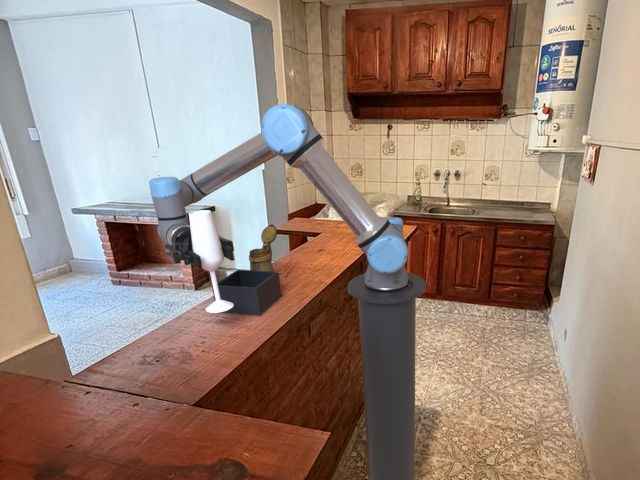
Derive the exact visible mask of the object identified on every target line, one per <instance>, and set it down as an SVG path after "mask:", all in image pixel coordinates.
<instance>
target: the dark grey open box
mask: <svg viewBox="0 0 640 480" xmlns="http://www.w3.org/2000/svg"><path fill="white" fill-rule="evenodd" d="M217 284H218V288H219V293H220V298H221V300H224V301H228V302H231V303H233V304H234V306H233V307H232V308H231V309H229V310H227V311H224V312H223V313H228V314H242V315H254V316H261V315H263V313H265V312H266V311H267V310H268V309H269V308H270V307H271V306H272V305H273V304H274V303H276V301H278V300H279V299H280V298H281V297H282V288H281V282H280V273H279V271H275V270H274V271H254V270H250V269H237V270H235V271H233V272H231V273H230V274H229V275H227V276H225V277H223V278H222V279H220V280H219V281H217ZM211 290H212V295H213V298H214V301H216V299H215V294H214V290H213V285H211Z"/></svg>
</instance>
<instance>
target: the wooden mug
mask: <svg viewBox="0 0 640 480" xmlns="http://www.w3.org/2000/svg"><path fill="white" fill-rule="evenodd" d="M277 236H278V229H277V227H276V226H275V224H273V223H271V224H269V225H267V226H266V227H265V228H264V229H263V230H262V231H261V237H260V238H261V242H262V243H263V244H262V247H261V248H253V249H251V250H249V254H248V261H249V270H254V271H275V269H274V266H273V263H272V259H273V250H272V246H271V244H273V242H274V241H275V240H276V238H277Z"/></svg>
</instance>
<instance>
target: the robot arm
mask: <svg viewBox="0 0 640 480" xmlns="http://www.w3.org/2000/svg"><path fill="white" fill-rule="evenodd" d="M324 142H325V139H324V137H323V136H322V135H321V134H320V133H319V131H318V130H317V128H316V127H315V125H314V121H313V120H312V117H311V115H310V114H309V113H308V112H307V111H306V110H304V109H302V107H299V106H295V105H292V104H289V103H279V104H277V105H274V106H272V107H270V108H269V109H268V110H267V111H266V112H265V113H264V115H263V117H262V120H261V124H260V133H258V134H256V135H254V136H253V137H251V138H249V139H248V140H246V141H244V142H242V143H241V144H239V145H238V146H236V147H234V148H232V149H231V150H229V151H227V152H226V153H224V154H223V155H221V156H219V157H217V158H215V159H213V160H212V161H211V162H209V163H207V164H205V165H204V166H202V167H200V168H199V169H197V170H195V171H193V172H191V173H190V174H188V175H187V176H185V177H183V178H181V179H179V178H178V177H177V176H161V177H160V176H159V177H154V178H151V179H150V180H149V181H148V185H149V190H150V192H149V193H150V196H151V199H152V203H153V206H154V211H155V215H156V218H157V224H158V227H157V233H158V235H159V236H158V237H159V238H160V240H162V242H164V243H165V244H164V250H165V254H166V256H169V257H170V258H171V259H172V260H173V262H174V264H180V263H181V261H183V264H184V266H189V265H191V264H192V265H193V266H195V267H196V268H198V269H203V268H202V264H201V259H200V256H199V255H197V254H196V253H194V252H193V246H192V238H191V229H190V222H189V220H188V219H189V218H188V215H187V210H186V208H187V207H188V206H191V205H192V204H196V203H198V202H200V201H202V200H203V199H204V198H206V197H207V196H209V195H211V194H212V193H214V192H215V191H218V190H220V189H221V188H223V187H225V186H226V185H228V184H230V183H232V182H233V181H235V180H237V179H239V178H240V177H242V176H244V175H246V174H248V173H249V172H251V171H252V170H255V169H256V168H258V167H260V166H261V165H263V164H265V163H266V162H268V161H270V160H272V159H274V158H275V157H280V158H282V159H283V160H284V161H285V162H286V163H287V164H288V165H289V167H290V168H293V169H298V170H300V171H301V173H303V175H304V176H305V177H306V178H307V179H308V181H309V182H310V183H311V185H313V186H314V188H315V189H316V191H318V192H319V193H320V195H321V196H322V197H323V199H324V200H325V201H326V202H327V203H328V204H329V206H330V207H331V208H332V209H333V211H334V212H335V213H336V214H337V215H338V217H340V219H341V220H342V221H343V222H344V223H345V225H346V226H347V227H348V228H349V229H350V231H352V233H353V234H354V235H355V245H356V246H357V247H358V248H359V249H360V250H361V251H362V253H363V254H364V255H365V256H366V259H367V263H368V265H367V269H366V271H365V272H364V274H365V280H364V284H365V287H366V288H368V289H369V290H372V291H376V292H395V291H399V290H402V289H404V288H406V287H407V286H408V285H409V283H410V284H411V285H412V284H413V282H412V281H410V280H409V278H408V275H407V272H408V271H407V268H406V266H405V264H406V263H407V261H408V257H409V248H408V244H407V243H406V240H405V237H404V220H403V219H402V218H401V217H397V216H395V217H394V216H379V215H378V214H377V212H376V211H375V210H374V209H373V208H372V206H371V205H370V204H369V203H368V201H367V200H366V198H365V197H364V196H363V195H362V194H361V193H360V191H359V190H358V189H357V188H356V186H355V185H354V184H353V182H352V181H351V180H350V179H349V178H348V176H347V175H346V174H345V173H344V172H343V170H342V169H341V168H340V166H339V165H338V164H337V163H336V162H335V160H334V159H333V158H332V156H331V155H330V154H329V153H328V151H327V150H326V149H325V148H324V144H325V143H324ZM218 236H219V240H220V243H221V246H222V250H223V253H224V258H226V259H227V260H229V261H230V262H231V261H232V262H233V261H235V255H234V252H235V248H234V242H233V240H230V239H227V238H224V237H223V236H220V234H218Z"/></svg>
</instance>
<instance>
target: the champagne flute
mask: <svg viewBox="0 0 640 480" xmlns="http://www.w3.org/2000/svg"><path fill="white" fill-rule="evenodd" d="M188 219H189V220H188V222H189V226H190V229H191V238H192V246H193V252H194V253H196V254H197V255H199V256H200V259H201V264H202V268H201V269H203V270H205V271H206V272H209V275H210V280H211V286H213V290H214V294H215V299H216V301H215V300H214V301H212V303H210V304H209V305H208V306H206V308H205V312H206V313H210V314H218V313H219V314H220V313H225V312H224V311H227V310H229V309H231V308H232V307H233V306H234V304H233V303H231V302H228V301H224V300H221V298H220V293H219V288H218V284H217V282H218V279H217V275H216V271H217V270H218V269H219V268H220V266H221V265H222V264H223V262H224V259H225V257H224V253H223V250H222V246H221V243H220V240H219V236H220V235H219V233H218V230H217V226H216V223H215V220H214V216H213V213H212V211H211V210H210V209H209V210H207V209H206V210H205V209H202V210H201V209H200V210H194V211H190V212H188ZM218 235H219V236H218ZM213 290H212V291H213Z"/></svg>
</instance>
